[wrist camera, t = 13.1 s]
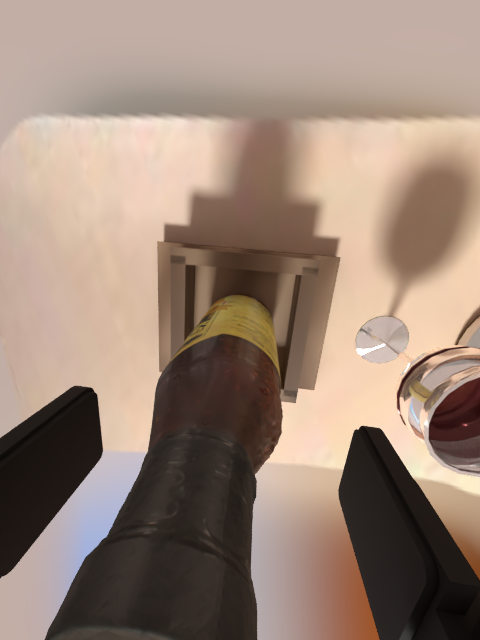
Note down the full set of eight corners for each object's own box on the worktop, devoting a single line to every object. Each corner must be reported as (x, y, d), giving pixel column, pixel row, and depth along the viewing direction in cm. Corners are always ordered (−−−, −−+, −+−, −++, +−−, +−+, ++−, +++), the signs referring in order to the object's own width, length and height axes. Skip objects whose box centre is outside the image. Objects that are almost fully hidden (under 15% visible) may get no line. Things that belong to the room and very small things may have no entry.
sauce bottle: (214, 283, 22) (-72, 504, 3) (280, 299, 22) (405, 626, 3) (202, 347, 24) (-20, 723, 5) (263, 362, 24) (270, 802, 5)
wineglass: (424, 360, 24) (573, 463, 13) (354, 378, 25) (432, 487, 14) (412, 297, 22) (571, 348, 11) (338, 319, 24) (412, 387, 12)
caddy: (335, 256, 22) (353, 258, 18) (311, 382, 26) (321, 409, 21) (164, 241, 23) (141, 240, 19) (165, 365, 27) (146, 387, 22)
